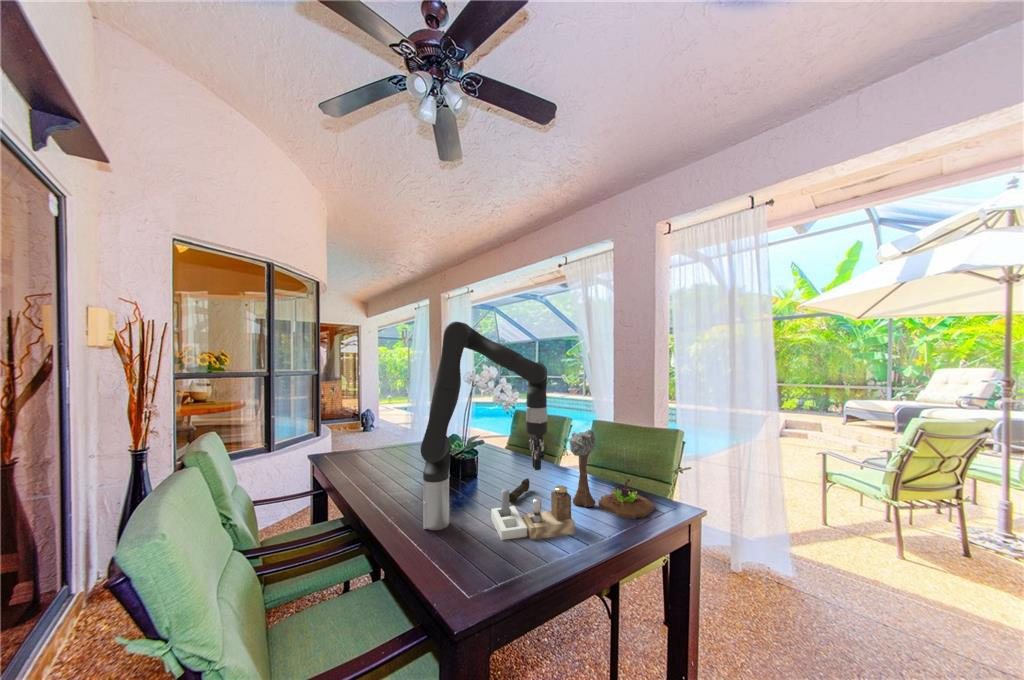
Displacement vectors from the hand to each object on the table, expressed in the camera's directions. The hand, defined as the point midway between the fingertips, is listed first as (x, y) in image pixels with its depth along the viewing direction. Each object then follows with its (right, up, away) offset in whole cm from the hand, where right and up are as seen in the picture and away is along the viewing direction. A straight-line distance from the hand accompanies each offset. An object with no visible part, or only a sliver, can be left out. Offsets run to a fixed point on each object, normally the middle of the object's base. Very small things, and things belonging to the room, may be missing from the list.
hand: (536, 468), depth 128 cm
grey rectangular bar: (0, -23, 0) cm, 23 cm away
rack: (-10, -23, +3) cm, 25 cm away
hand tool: (-8, -26, +27) cm, 38 cm away
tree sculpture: (+21, -23, +23) cm, 39 cm away
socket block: (+4, -23, +1) cm, 23 cm away
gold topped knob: (+9, -15, +2) cm, 17 cm away
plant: (+38, -23, +20) cm, 49 cm away
